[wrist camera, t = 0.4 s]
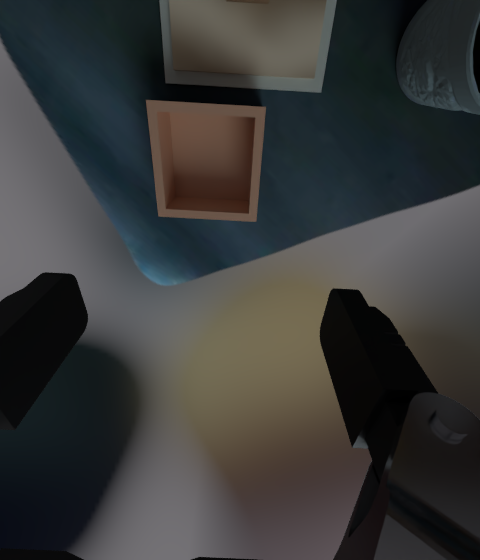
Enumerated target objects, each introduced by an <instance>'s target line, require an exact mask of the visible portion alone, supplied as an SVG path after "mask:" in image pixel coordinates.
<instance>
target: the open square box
mask: <svg viewBox="0 0 480 560" xmlns="http://www.w3.org/2000/svg"><path fill="white" fill-rule="evenodd" d="M146 105H147V114H148V123H149V132H150V142H151V151H152V160H153V170H154V179H155V188H156V197H157V207H158V216H161V217H179V218H197V219H215V220H233V221H251V222H256V218H257V206H258V194H259V182H260V171H261V159H262V147H263V135H264V123H265V111H266V107H257V106H240V105H224V104H207V103H190V102H173V101H156V100H146Z"/></svg>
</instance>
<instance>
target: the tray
mask: <svg viewBox="0 0 480 560" xmlns="http://www.w3.org/2000/svg"><path fill="white" fill-rule="evenodd" d="M159 2H160V15H161V28H162V42H163V55H164V69H165V82H166V83H170V84H187V85H203V86H220V87H237V88H253V89H270V90H287V91H303V92H321V90H322V84H323V78H324V72H325V66H326V60H327V55H328V49H329V43H330V37H331V31H332V25H333V19H334V13H335V7H336V2H337V0H327V1H326V8H325V14H324V20H323V27H322V33H321V40H320V46H319V52H318V59H317V65H316V72H315V78H314V79H305V78H289V77H272V76H256V75H239V74H223V73H206V72H190V71H175V70H173V56H172V40H171V23H170V7H169V0H159Z"/></svg>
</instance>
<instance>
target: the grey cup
mask: <svg viewBox="0 0 480 560" xmlns="http://www.w3.org/2000/svg"><path fill="white" fill-rule="evenodd" d="M396 73H397V78H398V83H399V85H400V87H401V89H402V91H403V92H404V93H405V95H406V96H407V97H408V98H409V99H411V100H412V101H414V102H416V103H418V104H421V105H426V106H432V107H437V108H442V109H449V110H455V111H458V110H464V111H466V112H469V113H473V114H478V115H480V0H427V1H426V2H425V3H424V4H423V6H422V7H421V8H420V9H419V10H418V11H417V13H416V14H415V15H414V17H413V18H412V20H411V21H410V23H409V24H408V26H407V28H406V30H405V32H404V34H403V37H402V39H401V42H400V45H399V49H398V53H397V59H396Z"/></svg>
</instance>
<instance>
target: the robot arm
mask: <svg viewBox="0 0 480 560" xmlns="http://www.w3.org/2000/svg"><path fill="white" fill-rule="evenodd" d="M87 322H88V314H87V310H86V307H85V304H84V301H83V298H82V295H81V291H80V288H79V285H78V282H77V280H76V278H75V276H74V275H72V274H65V273H42V274H40V275H39V276H38V277H37V278H36V279H34V280H33V281H32V282H31V283H30V284H28V285H27V286H26V287H25V288H23V289H21V290H19V291H17V292H15V293H13V294H11V295H9V296H7V297H6V298H4V299H3V300H2V301H1V302H0V429H5V430H6V429H8V430H15V429H16V428H17V426H18V425H19V424H20V422H21V421H22V419H23V418H24V417H25V415H26V413H27V412H28V410H29V409H30V408H31V407H32V405H33V404H34V402H35V401H36V399H37V398H38V397H39V395H40V394H41V392H42V391H43V389H44V388H45V387H46V385H47V384H48V382H49V381H50V380H51V378H52V377H53V375H54V374H55V372H56V371H57V370H58V368H59V367H60V365H61V364H62V362H63V361H64V360H65V358H66V357H67V355H68V354H69V353H70V351H71V350H72V348H73V346H74V345H75V344H76V343H77V341H78V340H79V338H80V337H81V335H82V334H83V333H84V331H85V329H86V326H87ZM320 342H321V346H322V349H323V353H324V356H325V359H326V363H327V366H328V369H329V373H330V376H331V379H332V383H333V386H334V389H335V393H336V396H337V399H338V402H339V405H340V409H341V412H342V416H343V419H344V422H345V426H346V429H347V432H348V435H349V439H350V442H351V445H352V447H353V448H368V449H369V452H370V455H371V458H372V462H371V463H370V465H369V468H368V471H367V473H366V476H365V479H364V482H363V485H362V487H361V490H360V493H359V496H358V499H357V501H356V504H355V507H354V510H353V512H352V516H351V518H350V521H349V524H348V526H347V529H346V532H345V535H344V537H343V540H342V542H341V545H340V547H339V549H338V551H337V553H336V555H335V557H334V559H333V560H480V420H479V419H478V418H477V417H476V416H475V415H474V414H473V413H472V412H471V411H470V410H468V409H467V408H466V407H464V406H463V405H462V404H460V403H458V402H456V401H455V400H453V399H451V398H449V397H446V396H443V395H441V394H438V392H437V391H436V389H435V388H434V386H433V385H432V383H431V382H430V380H429V378H428V377H427V375H426V374H425V372H424V371H423V369H422V368H421V366H420V365H419V364H418V362H417V360H416V359H415V357H414V355H413V354H412V352H411V351H410V349H409V348H408V347H407V346H405V342H404V340H403V339H402V337H401V336H400V335H398V331H397V329H396V328H395V326H394V325H393V323H392V322H391V320H390V319H389V318H388V317H387V316H386V315H384V314H383V313H382V312H381V311H380V310H378V309H377V308H376V307H369V306H368V304H367V302H366V301H365V299H364V297H363V295H362V294H361V292H360V291H359V290H353V289H332V290H331V292H330V294H329V298H328V301H327V305H326V308H325V312H324V316H323V319H322V323H321V327H320ZM0 560H83V559H81V558H79V557H77V556H75V555H73V554H71V553H69V552H67V551H49V550H48V551H47V550H25V549H24V550H23V549H3V548H1V550H0ZM192 560H254V559H233V558H232V559H231V558H210V557H198V558H195V559H192ZM255 560H256V559H255Z"/></svg>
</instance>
